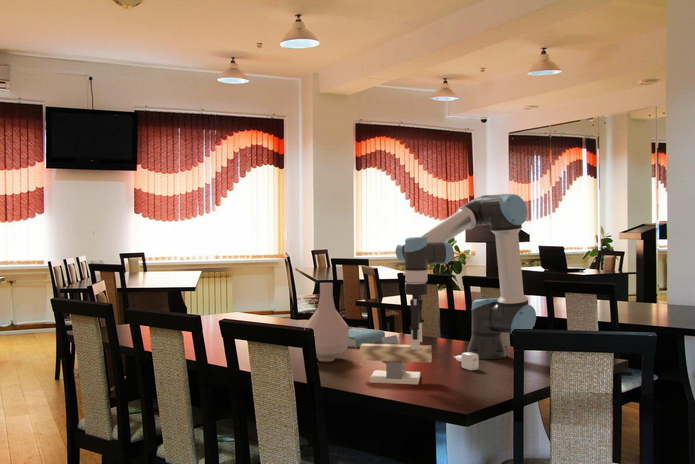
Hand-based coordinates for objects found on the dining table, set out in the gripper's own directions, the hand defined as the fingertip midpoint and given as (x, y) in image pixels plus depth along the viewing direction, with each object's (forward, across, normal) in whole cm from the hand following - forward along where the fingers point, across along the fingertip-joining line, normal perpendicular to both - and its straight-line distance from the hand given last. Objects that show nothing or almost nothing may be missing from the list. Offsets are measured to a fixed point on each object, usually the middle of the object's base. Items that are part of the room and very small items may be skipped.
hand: (416, 345), depth 218 cm
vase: (+12, -28, -37) cm, 48 cm away
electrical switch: (+12, -33, -13) cm, 38 cm away
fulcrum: (+12, 0, -7) cm, 14 cm away
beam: (+5, 0, -7) cm, 9 cm away
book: (+13, -69, -32) cm, 77 cm away
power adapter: (+12, -22, +16) cm, 30 cm away
